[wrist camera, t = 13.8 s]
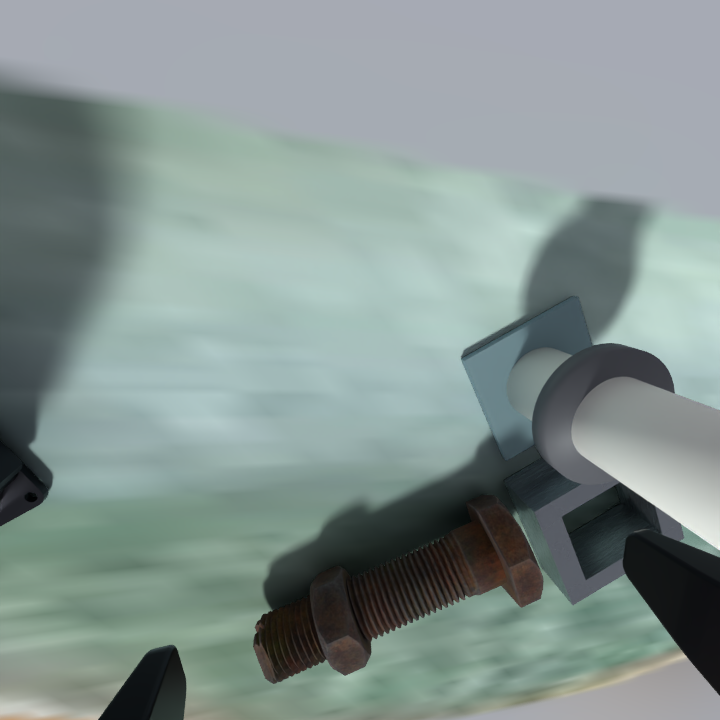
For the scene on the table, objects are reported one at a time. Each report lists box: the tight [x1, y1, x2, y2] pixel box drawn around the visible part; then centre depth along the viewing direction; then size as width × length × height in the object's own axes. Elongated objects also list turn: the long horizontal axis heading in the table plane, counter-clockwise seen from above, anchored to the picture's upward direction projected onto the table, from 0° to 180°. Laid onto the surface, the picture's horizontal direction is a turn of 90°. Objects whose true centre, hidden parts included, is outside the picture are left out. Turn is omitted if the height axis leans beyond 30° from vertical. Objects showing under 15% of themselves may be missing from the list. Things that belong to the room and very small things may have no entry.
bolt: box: [253, 495, 543, 684], centre depth 22 cm, size 6×5×15 cm
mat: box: [461, 296, 592, 461], centre depth 22 cm, size 7×7×1 cm
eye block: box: [504, 458, 684, 605], centre depth 24 cm, size 8×8×3 cm
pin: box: [507, 343, 720, 550], centre depth 16 cm, size 6×6×13 cm
